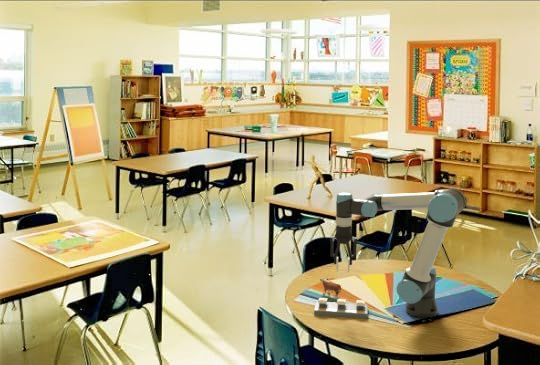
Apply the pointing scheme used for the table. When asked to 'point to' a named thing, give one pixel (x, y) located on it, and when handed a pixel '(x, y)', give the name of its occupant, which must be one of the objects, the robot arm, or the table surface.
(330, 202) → the table surface
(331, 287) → the bull figurine
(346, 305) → the switch panel
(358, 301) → the switch
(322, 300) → the switch
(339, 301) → the switch middle
